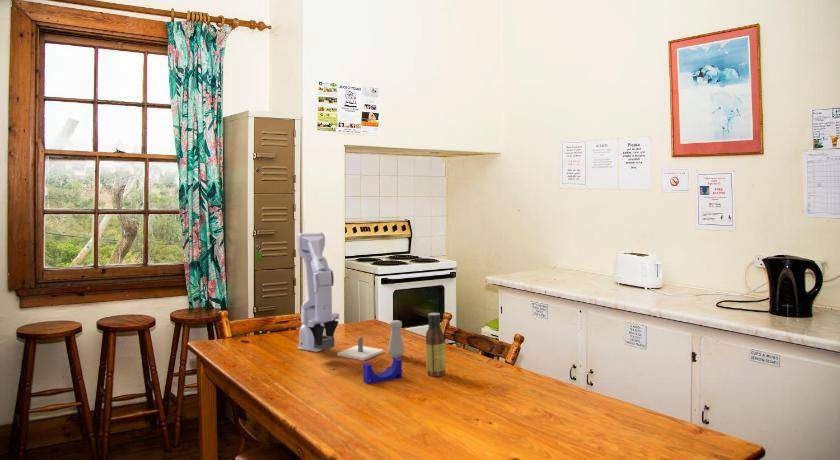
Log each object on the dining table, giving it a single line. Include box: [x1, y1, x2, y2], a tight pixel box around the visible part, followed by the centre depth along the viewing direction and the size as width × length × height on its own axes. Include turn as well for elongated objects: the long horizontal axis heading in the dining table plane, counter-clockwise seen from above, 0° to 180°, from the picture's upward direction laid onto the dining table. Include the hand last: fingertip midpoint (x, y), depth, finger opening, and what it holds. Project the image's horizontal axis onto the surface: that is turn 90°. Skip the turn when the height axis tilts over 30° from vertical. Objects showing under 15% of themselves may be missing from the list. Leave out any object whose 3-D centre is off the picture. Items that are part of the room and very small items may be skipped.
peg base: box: [336, 336, 384, 361], centre depth 208 cm, size 12×12×6 cm
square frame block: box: [314, 334, 335, 351], centre depth 200 cm, size 5×5×4 cm
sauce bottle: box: [425, 312, 447, 377], centre depth 184 cm, size 7×6×20 cm
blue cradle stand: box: [362, 358, 403, 385], centre depth 180 cm, size 12×4×6 cm, turn 119°
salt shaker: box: [387, 319, 405, 359], centre depth 204 cm, size 6×6×13 cm
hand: (324, 343), depth 200 cm, fingers closed on square frame block, 5 cm apart
